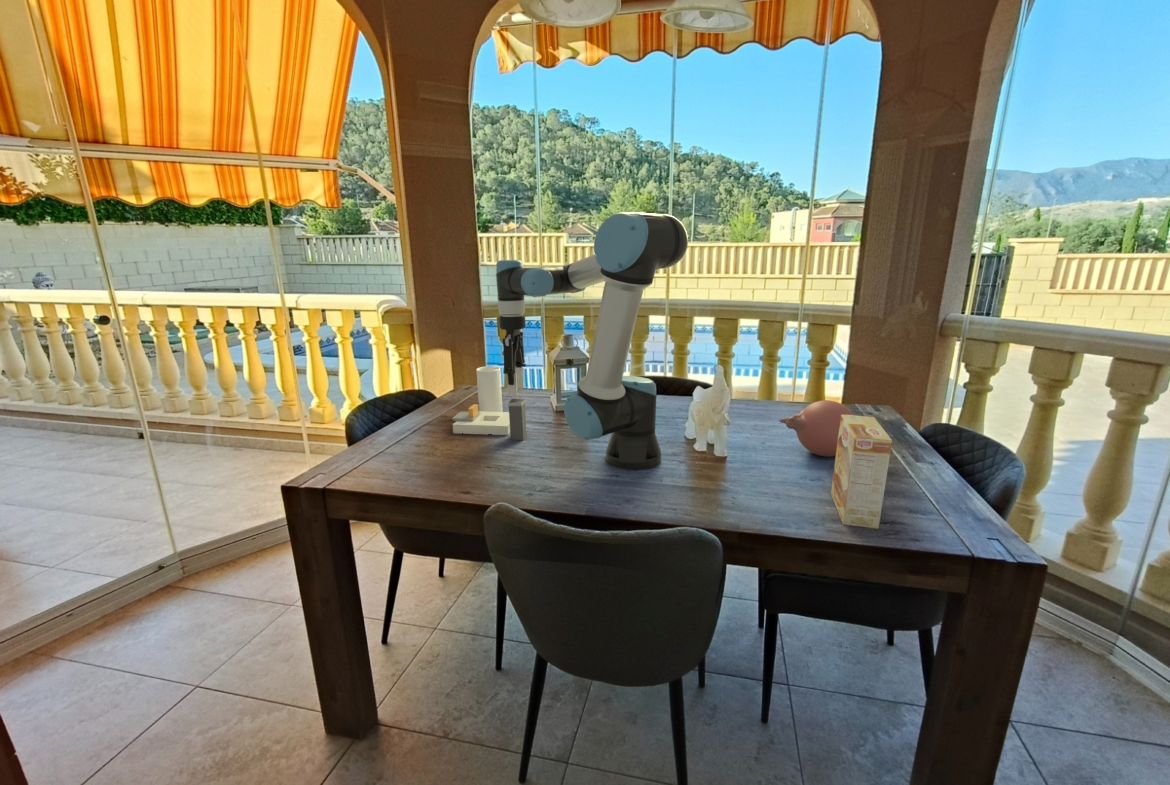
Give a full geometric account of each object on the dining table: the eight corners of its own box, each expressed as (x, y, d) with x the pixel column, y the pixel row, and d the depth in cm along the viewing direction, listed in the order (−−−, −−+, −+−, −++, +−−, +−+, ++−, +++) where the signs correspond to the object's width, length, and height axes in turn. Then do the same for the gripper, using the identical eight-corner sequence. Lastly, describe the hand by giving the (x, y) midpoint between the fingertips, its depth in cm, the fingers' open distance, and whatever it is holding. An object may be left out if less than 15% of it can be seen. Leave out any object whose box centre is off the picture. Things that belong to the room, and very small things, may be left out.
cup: (483, 408, 187) (480, 365, 182) (505, 408, 186) (502, 366, 181) (476, 414, 179) (472, 371, 175) (498, 415, 178) (495, 371, 173)
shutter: (480, 414, 169) (479, 403, 168) (473, 421, 163) (472, 409, 162) (460, 413, 170) (459, 403, 169) (452, 420, 164) (451, 409, 163)
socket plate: (519, 420, 172) (519, 412, 171) (508, 435, 159) (507, 426, 158) (468, 419, 174) (468, 411, 174) (453, 433, 161) (452, 424, 160)
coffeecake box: (829, 492, 118) (839, 413, 113) (863, 496, 116) (875, 416, 111) (841, 524, 104) (853, 436, 99) (879, 529, 102) (894, 440, 97)
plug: (526, 435, 158) (524, 399, 155) (523, 440, 154) (521, 403, 151) (514, 435, 158) (512, 398, 155) (510, 440, 154) (508, 402, 151)
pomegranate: (773, 441, 150) (777, 391, 146) (846, 446, 146) (852, 395, 142) (780, 461, 136) (785, 407, 132) (861, 467, 131) (869, 411, 127)
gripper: (509, 311, 156) (513, 382, 162) (488, 319, 137) (494, 400, 143) (532, 311, 155) (535, 383, 161) (515, 319, 136) (519, 401, 142)
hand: (516, 391), depth 152 cm, fingers open, 7 cm apart
